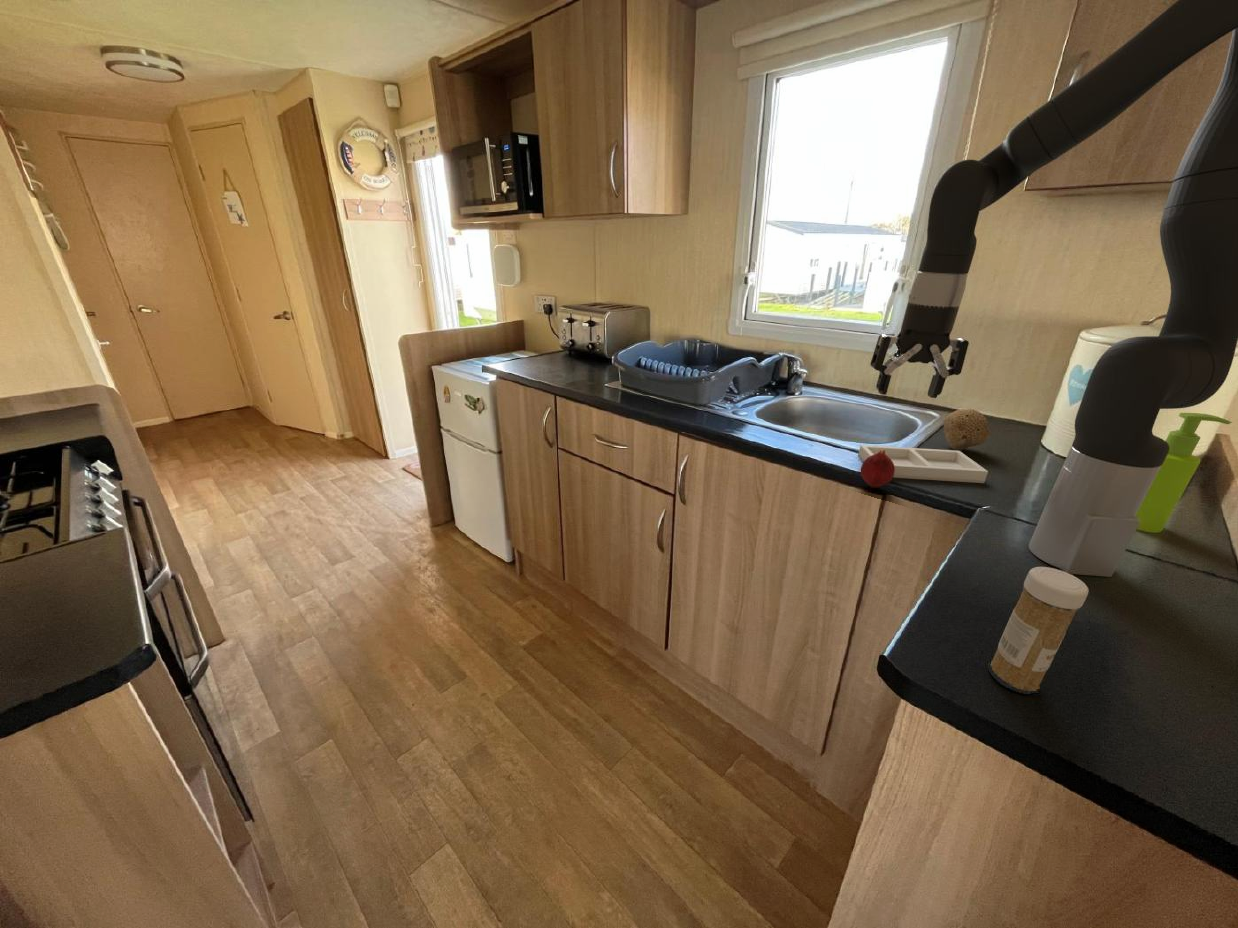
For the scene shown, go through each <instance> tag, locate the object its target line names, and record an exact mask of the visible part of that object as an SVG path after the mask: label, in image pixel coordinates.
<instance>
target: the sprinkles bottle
mask: <svg viewBox="0 0 1238 928" xmlns="http://www.w3.org/2000/svg"><path fill="white" fill-rule="evenodd" d="M1024 579H1025V580H1024V582H1023V587H1022V592H1021V594H1020V597H1019V599H1018V601H1017V603H1016V605H1015V607H1014V608H1013V610H1012V613H1011V615H1010V617H1009V619H1008V622H1007V624H1006V626H1005V629H1004V630H1003V632H1002V635H1001V638H1000V640H999V642H998V646H997V650H996V651H995V654H994V656H993V658H992V661H991V664H990V663H989V664H990V665H991V667H992V670H993V671H994V673H995V674H997V676H998V677H1000V678H1001V679H1002V680H1003V681H1005V682H1006V683H1009V685H1011V686H1013V687H1015V688H1017V689H1021V690H1025V691H1026V690H1027V691H1029V692H1030V691H1036V690H1037V689H1039V690H1040V688H1041V686H1039V685H1041V683H1042V681H1043V678H1044V676H1045V675H1046V673H1047V670H1048V669H1050V667H1051V664H1052V663H1053V660H1054V658H1055V656H1056V654H1057V652H1058V650H1059V648H1060V646H1061V644H1062V642H1063V640H1064V638H1065V635H1066V632H1067V631H1068V628H1069V626H1070V624H1071V623H1072V621H1073V618H1074V616H1075V615H1076V612H1077V611H1078V610H1079V609H1081V607H1083V606H1084V603H1086V602H1085V601H1086V599H1087V597H1088V595H1089V587H1088V586H1087V585H1086V583H1085V582H1084V581H1082V580H1081V579H1080V578H1078V577H1076V576H1074V574H1068V573H1066V572H1064V571H1063V570H1061V569H1057V568H1055V567H1054V568H1053V567H1047V566H1036V567H1033V568H1031V569H1030V570H1029V571H1028V572H1027V575H1026V577H1025V578H1024Z"/></svg>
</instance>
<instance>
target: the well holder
mask: <svg viewBox="0 0 1238 928" xmlns="http://www.w3.org/2000/svg"><path fill="white" fill-rule="evenodd" d="M881 449H883V450H885V454H886V455H887V456H888V457H889V458H890V459H891V460H892V462H893V464H894V467H895V472H894V476H893V478H894V479H895V478H896V479H898V478H899V479H913V480H927V481H928V480H930V481H945V482H961V483H962V482H963V483H974V484H975V483H976V484H977V483H978V484H979V483H980V484H985V482H986V479H987V476H988V473H989V471H988V470H987V469H985V468H984V467H982V466H981V465H980V464H978V463H977V462H976V461H974V460H973V459H971V458H970V457H968V456H967V455H966V454H964V453H963V452H962V451H961V450H954V449H934V448H917V447H901V446H900V447H899V446H885V445H884V446H882V445H881V446H880V445H864V444H863V445H862V444H861V445H859V450H858V454H857V456H858V457H859V459H860V460H861V461H862V463H863V462H864V461H865V460H866V459H867V458H868V457H870V456H872V455H875V454H877V453H878V452H879V451H880V450H881Z"/></svg>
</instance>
